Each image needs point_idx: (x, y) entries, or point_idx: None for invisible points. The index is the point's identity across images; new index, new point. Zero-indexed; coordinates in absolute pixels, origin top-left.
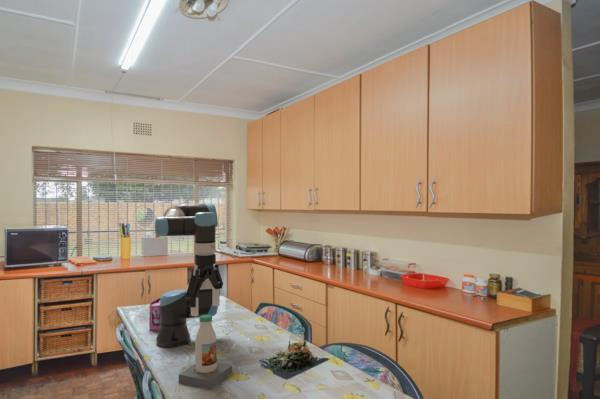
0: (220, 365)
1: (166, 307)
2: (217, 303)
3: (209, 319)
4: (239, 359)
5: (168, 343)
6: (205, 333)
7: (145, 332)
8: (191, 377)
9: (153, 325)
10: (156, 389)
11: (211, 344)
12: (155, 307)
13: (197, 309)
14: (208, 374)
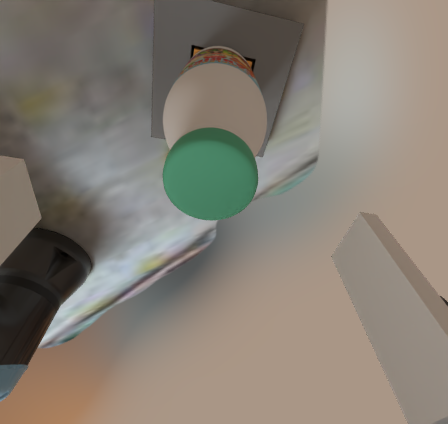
0: (173, 44)
1: (24, 355)
2: (7, 184)
3: (236, 139)
4: (38, 8)
5: (81, 259)
6: (257, 123)
7: None
8: (276, 111)
9: None
10: (297, 180)
11: (246, 73)
12: None
13: (402, 257)
14: (250, 61)
